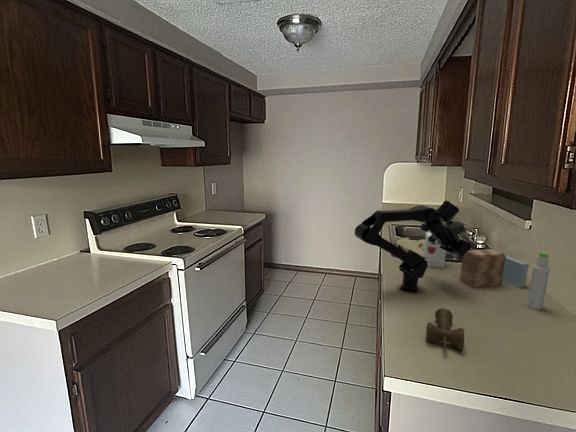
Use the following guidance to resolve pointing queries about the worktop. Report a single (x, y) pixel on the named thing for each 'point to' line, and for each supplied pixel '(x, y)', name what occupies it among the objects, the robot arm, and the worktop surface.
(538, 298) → the bottle
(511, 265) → the board
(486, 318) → the worktop surface
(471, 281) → the walnut box
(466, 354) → the worktop surface
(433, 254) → the supplement box
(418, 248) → the cheese
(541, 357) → the worktop surface
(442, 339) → the kendama
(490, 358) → the worktop surface
